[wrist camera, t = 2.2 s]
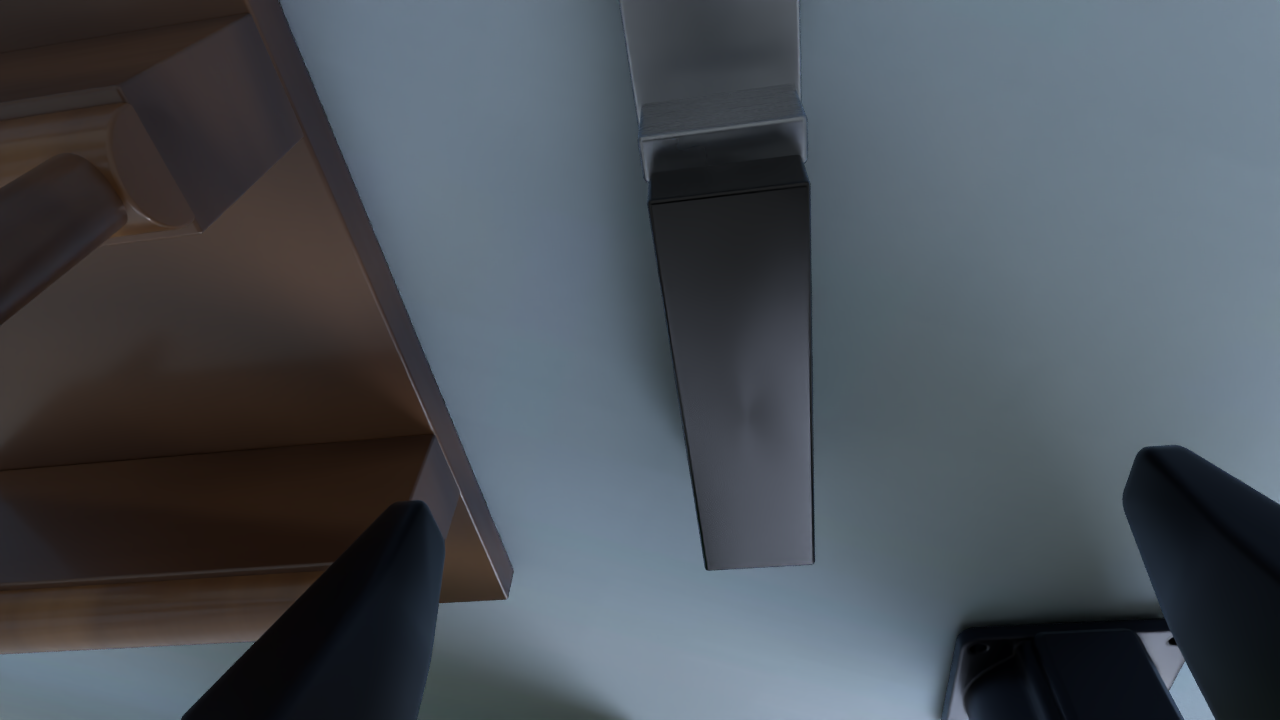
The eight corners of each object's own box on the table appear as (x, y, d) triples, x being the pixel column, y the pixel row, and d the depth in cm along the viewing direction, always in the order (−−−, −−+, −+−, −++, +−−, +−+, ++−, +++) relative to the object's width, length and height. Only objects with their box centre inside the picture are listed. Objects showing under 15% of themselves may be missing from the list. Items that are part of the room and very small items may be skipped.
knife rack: (514, 570, 22) (453, 867, 16) (141, 593, 23) (-42, 872, 17) (123, -381, 10) (-774, -641, 4) (-604, -206, 11) (-2080, -189, 5)
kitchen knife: (806, 464, 18) (824, 565, 16) (694, 473, 19) (696, 572, 16) (771, -1156, 6) (827, -1701, 4) (460, -1049, 7) (343, -1493, 4)
